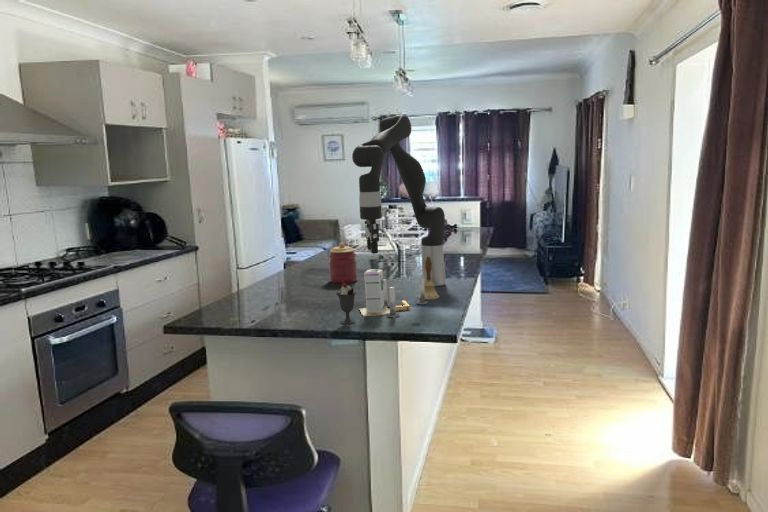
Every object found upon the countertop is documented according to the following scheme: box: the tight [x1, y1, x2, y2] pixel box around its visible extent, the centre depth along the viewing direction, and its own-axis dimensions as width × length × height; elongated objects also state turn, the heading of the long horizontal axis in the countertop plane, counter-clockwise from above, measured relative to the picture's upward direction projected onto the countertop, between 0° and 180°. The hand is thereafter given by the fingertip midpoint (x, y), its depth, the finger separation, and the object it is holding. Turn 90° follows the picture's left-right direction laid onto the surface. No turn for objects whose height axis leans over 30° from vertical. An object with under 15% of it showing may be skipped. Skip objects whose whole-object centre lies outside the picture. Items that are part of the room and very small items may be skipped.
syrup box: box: [363, 268, 385, 313], centre depth 200 cm, size 6×6×14 cm
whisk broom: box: [417, 257, 440, 301], centre depth 220 cm, size 8×8×16 cm
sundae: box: [335, 278, 357, 325], centre depth 188 cm, size 7×7×15 cm
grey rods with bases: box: [383, 276, 429, 318], centre depth 203 cm, size 18×18×10 cm
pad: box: [358, 307, 390, 317], centre depth 201 cm, size 10×10×1 cm
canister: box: [327, 242, 359, 284], centre depth 257 cm, size 13×13×18 cm
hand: (372, 251), depth 198 cm, fingers open, 8 cm apart
